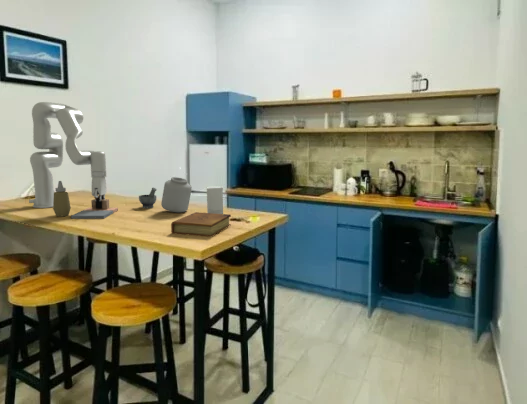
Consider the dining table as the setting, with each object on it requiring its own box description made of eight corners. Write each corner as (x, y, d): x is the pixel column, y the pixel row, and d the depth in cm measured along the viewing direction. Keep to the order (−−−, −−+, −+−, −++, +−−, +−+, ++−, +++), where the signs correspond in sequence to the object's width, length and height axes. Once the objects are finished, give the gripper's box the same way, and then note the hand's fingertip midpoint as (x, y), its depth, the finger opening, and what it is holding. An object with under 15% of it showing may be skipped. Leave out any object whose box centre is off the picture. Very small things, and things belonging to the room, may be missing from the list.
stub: (83, 212, 209) (82, 201, 208) (88, 209, 217) (87, 198, 216) (113, 212, 210) (112, 201, 209) (118, 209, 218) (117, 198, 217)
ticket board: (71, 218, 194) (71, 215, 194) (82, 213, 208) (82, 210, 208) (104, 218, 195) (104, 215, 195) (113, 213, 209) (112, 210, 209)
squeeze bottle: (74, 214, 204) (72, 180, 201) (62, 217, 196) (59, 182, 193) (62, 213, 206) (60, 179, 204) (49, 216, 199) (47, 181, 196)
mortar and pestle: (135, 207, 226) (135, 187, 224) (146, 205, 234) (146, 185, 232) (151, 209, 221) (150, 188, 219) (161, 207, 230) (161, 186, 228)
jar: (199, 210, 220) (199, 166, 216) (187, 215, 206) (186, 168, 202) (170, 208, 226) (169, 165, 222) (156, 212, 212) (154, 166, 208)
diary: (194, 223, 189) (194, 212, 189) (230, 226, 185) (230, 214, 184) (171, 234, 168) (171, 221, 167) (211, 237, 163) (211, 224, 162)
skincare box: (222, 214, 209) (222, 186, 206) (223, 217, 202) (223, 187, 200) (206, 215, 207) (206, 186, 205) (207, 217, 201) (206, 187, 198)
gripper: (97, 173, 218) (99, 205, 221) (85, 175, 201) (87, 210, 204) (110, 173, 218) (112, 205, 221) (100, 176, 202) (102, 210, 205)
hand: (100, 207), depth 213 cm, fingers closed on stub, 4 cm apart
